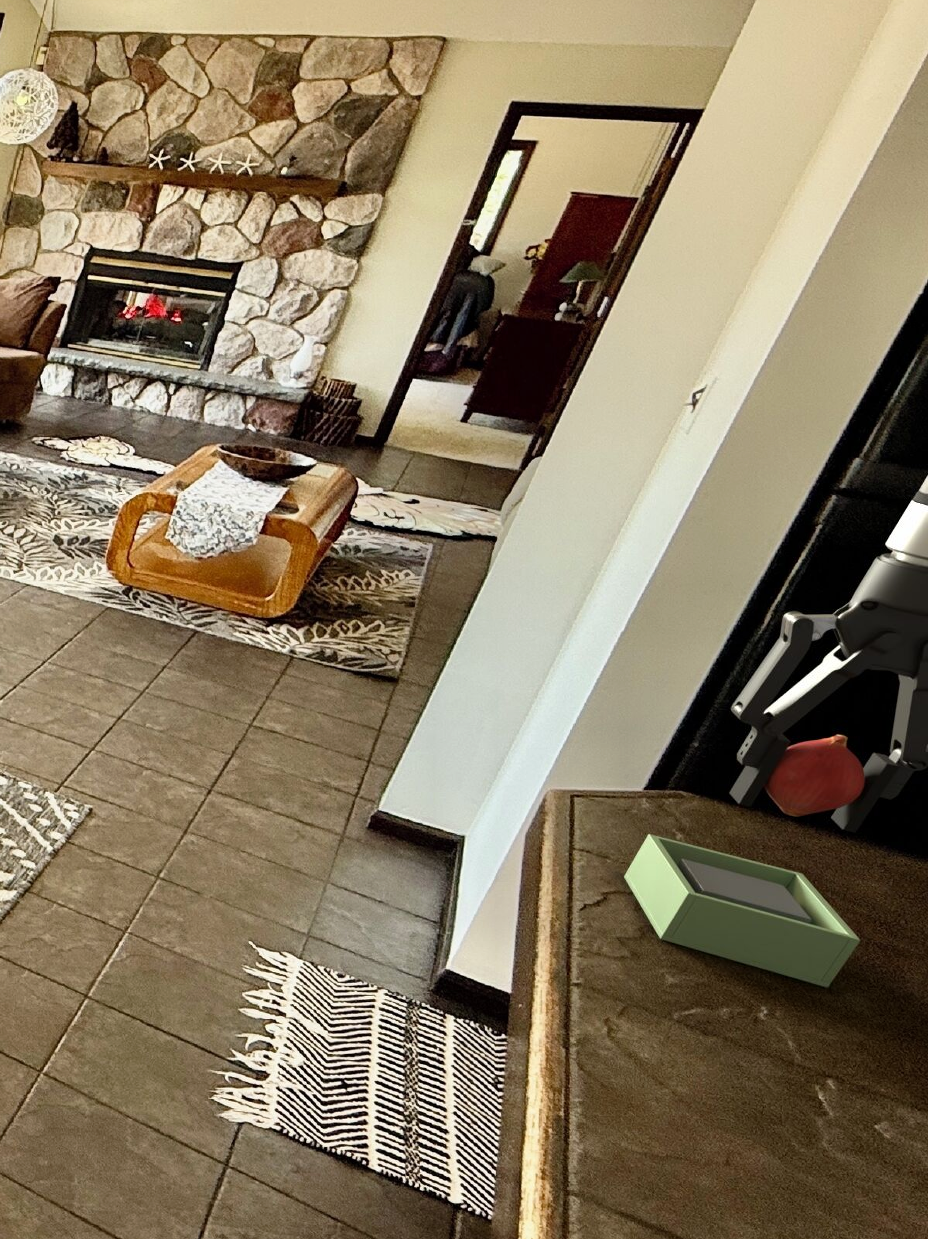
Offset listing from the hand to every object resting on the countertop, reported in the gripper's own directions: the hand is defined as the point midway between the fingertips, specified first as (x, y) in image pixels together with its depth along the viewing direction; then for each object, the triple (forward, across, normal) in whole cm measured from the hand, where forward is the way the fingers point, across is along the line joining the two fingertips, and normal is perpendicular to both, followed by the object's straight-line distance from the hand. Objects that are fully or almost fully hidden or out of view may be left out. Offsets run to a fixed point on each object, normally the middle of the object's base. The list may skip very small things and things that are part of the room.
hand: (790, 811), depth 102 cm
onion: (0, 0, 0) cm, 0 cm away
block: (+12, 0, 0) cm, 12 cm away
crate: (+12, 0, 0) cm, 12 cm away
